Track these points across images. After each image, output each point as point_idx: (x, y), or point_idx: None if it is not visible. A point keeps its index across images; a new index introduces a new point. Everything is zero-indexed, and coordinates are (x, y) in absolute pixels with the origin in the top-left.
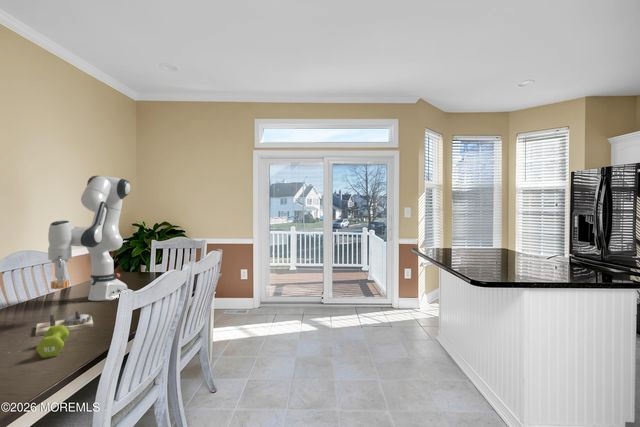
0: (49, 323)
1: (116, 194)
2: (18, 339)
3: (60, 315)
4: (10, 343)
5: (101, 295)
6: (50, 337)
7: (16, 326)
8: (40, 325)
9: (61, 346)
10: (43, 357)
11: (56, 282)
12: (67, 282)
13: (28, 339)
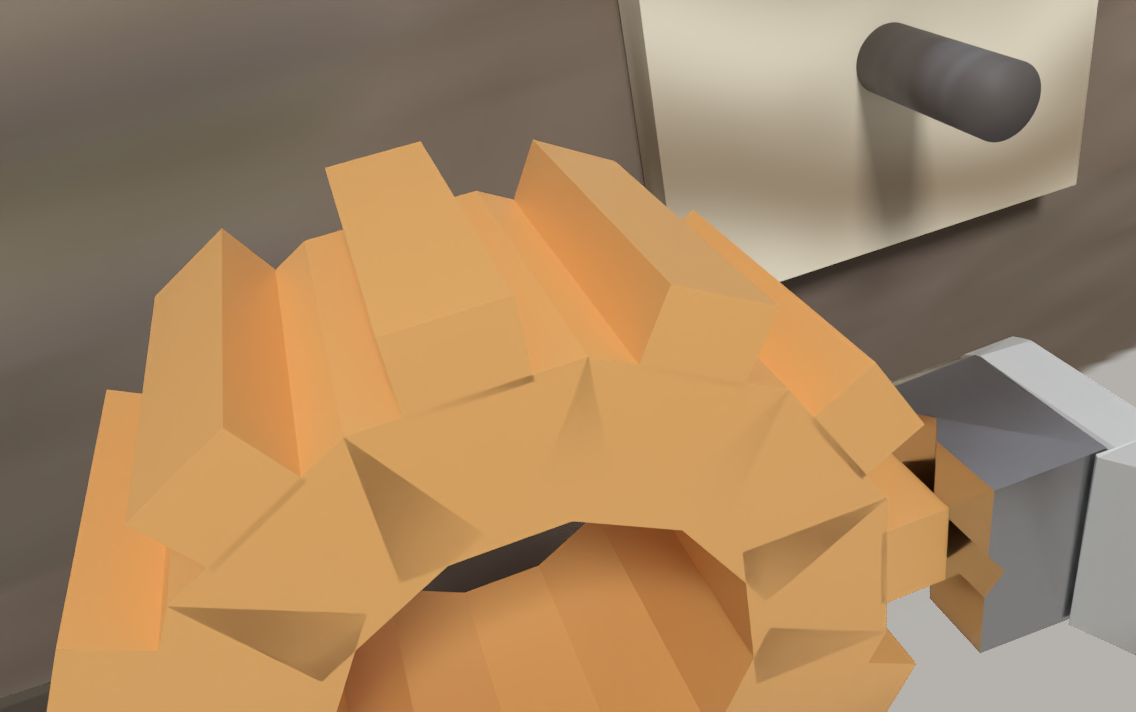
0: (747, 144)
1: None
2: (1036, 307)
3: (10, 162)
4: (1112, 328)
5: None
6: None
7: (508, 546)
8: (790, 239)
9: None
10: None
11: (867, 677)
12: (678, 254)
13: (1102, 204)
